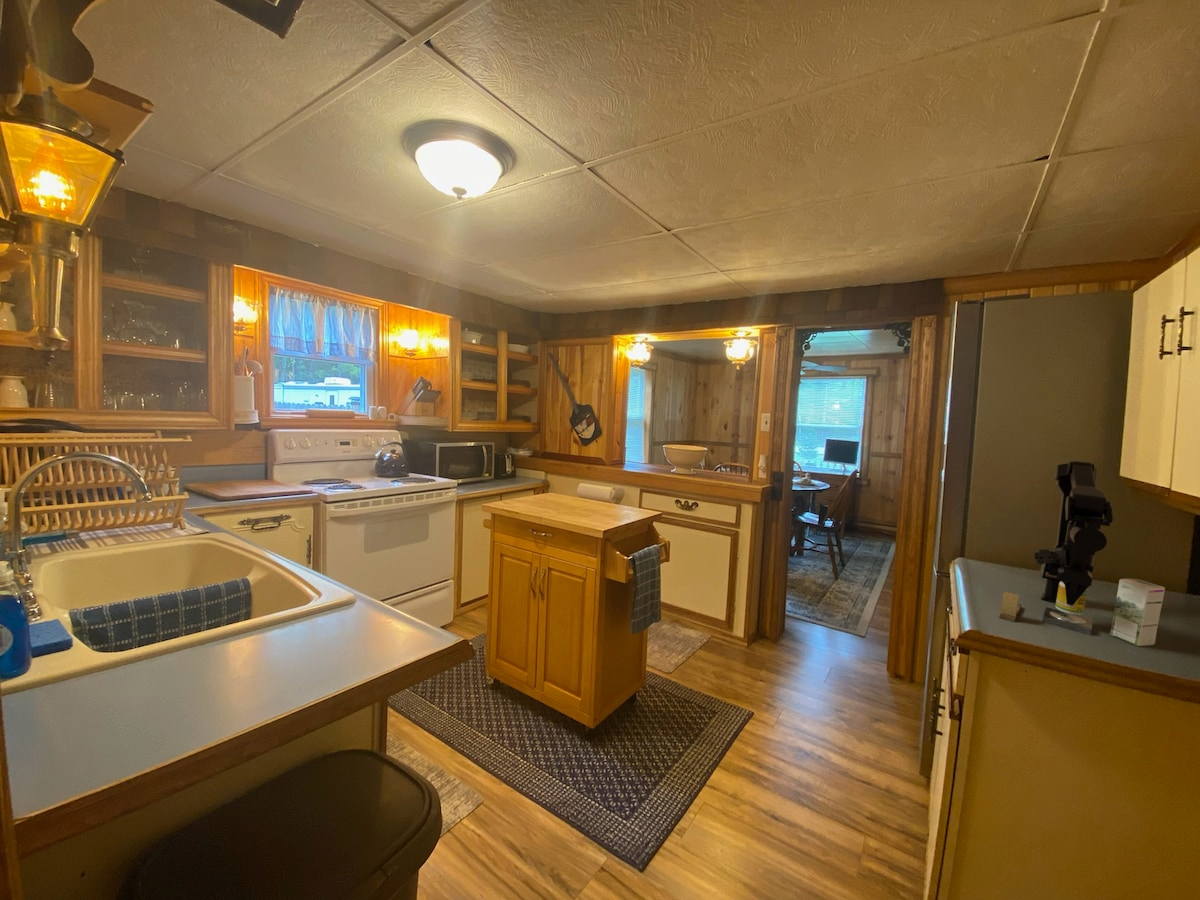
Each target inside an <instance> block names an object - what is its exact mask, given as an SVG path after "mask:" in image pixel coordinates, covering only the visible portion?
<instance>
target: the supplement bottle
mask: <svg viewBox="0 0 1200 900" xmlns="http://www.w3.org/2000/svg"><path fill="white" fill-rule="evenodd" d="M1087 595H1088V588H1087V589H1086V591H1085V592H1084V593H1083V594H1082V595H1081V596H1080V597H1079V599H1078V600H1077V601H1076V602H1075V603H1074V604H1073V605H1068V604H1067V600H1066V591H1065V584H1064V583H1063V582H1062V581H1060V583H1059V588H1058V594H1057V600H1056V603H1055V605H1054V606H1055V608H1056V610H1059V611H1062V612H1065V613H1068V614H1072V615H1079V616H1082V615H1084V611H1085V606H1086V601H1087Z"/></svg>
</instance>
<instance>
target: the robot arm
mask: <svg viewBox="0 0 1200 900" xmlns="http://www.w3.org/2000/svg"><path fill="white" fill-rule="evenodd" d="M1097 473H1098V468H1097V467H1095V464H1094V463H1092V462H1091V461H1090V462H1089V461H1080V460H1079V461H1077V460H1072V461H1068V462H1067V463H1061V464H1057V465H1056V467H1055V469H1054V472H1053V481H1055V488H1056V490H1057V492H1059V494H1060V497H1061V499H1060V506H1059V507H1060V509H1059V515H1058V517H1059V518H1058V523H1057V524H1058V525H1057V531H1056V533H1057V534H1056V541H1055V546H1053V547H1049V548H1048V547H1046V548H1036V549H1034V550H1033V555H1034V560H1035V562H1036V564H1037V565H1041V567H1040V574H1039V575H1040V577H1041V579H1046V581H1045V587H1044V592H1042V594H1041V596H1040V597H1041V598H1040V599H1041V600H1043V601H1045V602H1051V603H1055V604H1056V600H1057V594H1058V588H1059V583H1060V581H1062V582H1063V583H1064V584H1065V591H1066V600H1067V604H1068V605H1073V604H1074V603H1075V602H1076V601H1077V600H1078V599H1079V597H1080V596H1081V595H1082V594H1083V593H1084V592H1085V591H1086V589H1088V588H1089V587H1091V586H1092V583H1093V574H1092V573H1093V571H1094V560H1095V554H1096V552H1099V551H1102V550H1104V548H1105V547H1106V546H1107V544H1108V541H1107V540H1108V539H1107V537H1106V535H1105V533H1103V532H1102V531H1101V526H1104V527H1110V525H1111V524H1112V522H1113V521H1114V518H1113V506H1112V505H1111V502H1110V500H1109V501H1108V499H1107V497H1106V494H1105V493H1104V492H1103V491H1101V490H1099V489H1098V488H1097V486H1096V482H1097Z"/></svg>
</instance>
